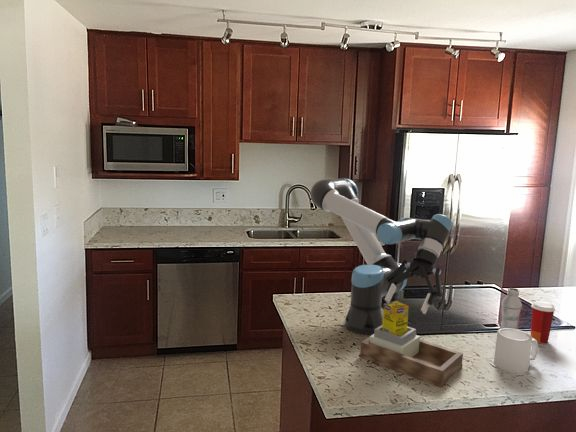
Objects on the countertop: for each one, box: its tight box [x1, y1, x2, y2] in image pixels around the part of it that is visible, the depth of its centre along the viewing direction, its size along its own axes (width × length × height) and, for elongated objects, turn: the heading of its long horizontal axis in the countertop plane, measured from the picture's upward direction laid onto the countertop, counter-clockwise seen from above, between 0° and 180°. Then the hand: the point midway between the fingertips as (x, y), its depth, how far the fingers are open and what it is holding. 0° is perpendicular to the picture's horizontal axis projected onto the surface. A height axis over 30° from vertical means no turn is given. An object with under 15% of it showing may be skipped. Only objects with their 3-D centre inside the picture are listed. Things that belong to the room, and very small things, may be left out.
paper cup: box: [530, 300, 556, 345], centre depth 170 cm, size 8×8×14 cm
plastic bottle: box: [499, 287, 523, 330], centre depth 167 cm, size 6×7×20 cm
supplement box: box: [382, 300, 410, 336], centre depth 154 cm, size 6×6×11 cm
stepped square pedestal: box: [369, 325, 421, 358], centre depth 155 cm, size 12×12×8 cm
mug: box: [493, 328, 539, 374], centre depth 151 cm, size 14×10×11 cm
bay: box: [359, 336, 464, 388], centre depth 152 cm, size 28×17×5 cm, turn 49°
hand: (404, 306), depth 157 cm, fingers open, 13 cm apart
